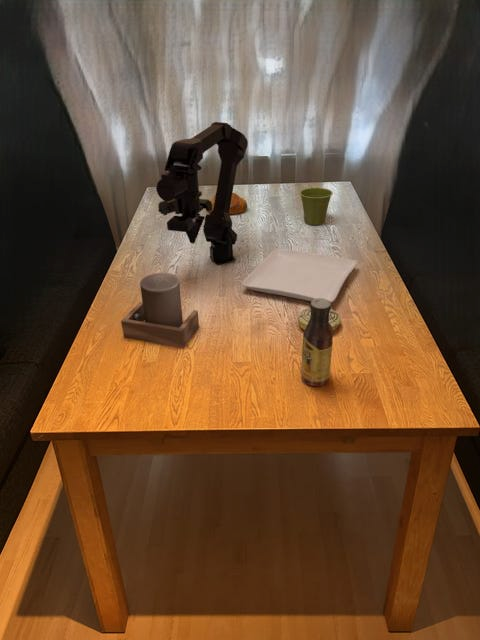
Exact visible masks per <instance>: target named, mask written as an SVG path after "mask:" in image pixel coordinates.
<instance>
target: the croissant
mask: <svg viewBox="0 0 480 640" xmlns="http://www.w3.org/2000/svg"><path fill="white" fill-rule="evenodd" d="M215 196H216V194H215V195H214V196H213V197H212V198H211V199H210V202H211V203H212V210H211V211H210V212H209V214H210V213H211V212H212V211H213V208H214V202H215ZM247 208H248V203H247V201H246V199H244V198H243V197H241V196H240V195H238V194H237V193H236V192H232V198H231V203H230V209H229V215H236V214H241V213H244V212H246V209H247Z"/></svg>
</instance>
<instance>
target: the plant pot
mask: <svg viewBox="0 0 480 640" xmlns="http://www.w3.org/2000/svg"><path fill="white" fill-rule="evenodd" d="M298 193H299V195H300V197H301V201H302V209H303V217H304V222H305V224H306V225H309V226H313V225H315V226H321V225H324V223H325V222H326V217H327V214H328V213H327V212H328V208H329V205H330V201H331V198H332V195H334V194H333V193H334V192H333V191H332V189H331V190H330V189H328V188H325V187H324V188H323V187H309V188H303V189H301V190H300V191H299V192H298Z"/></svg>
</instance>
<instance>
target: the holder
mask: <svg viewBox="0 0 480 640" xmlns="http://www.w3.org/2000/svg"><path fill="white" fill-rule="evenodd" d="M120 322H121V323H120V324H121V330H122V334H123V338H124V339H128V340H133V341H140V342H143V343H144V342H146V343H151V344H157V345H163V346H168V347H173V348H180V349H185V348H186V346H187V345H188V343H189V342H190V341H191V340H192V338H193V337H194V335H195V334H196V332H197V331H198V330H199V328H200V323H199V322H200V321H199V311H198V310H195V309H193V310H192V311H191V312H190V314H189V315H188V316H187V318H186V319H185V320H183V324H182V325H181V327H180V328H178V327H172V326H166V325H159V324H153V323H147V322H145V317H144V309H143V303H142V301H139V302H138V303H137V304H136V305H134V307H133V308H132V309H131V310H130V311H129V312H128V313H127V314H126V315H125V316H124V318H122V319H121V320H120Z"/></svg>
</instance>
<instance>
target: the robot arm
mask: <svg viewBox="0 0 480 640" xmlns="http://www.w3.org/2000/svg"><path fill="white" fill-rule="evenodd" d="M215 145H217V153H218V157H219V158H220V168H219V174H218V180H217V186H216V191H215V195H216V196H215V195H214V197H215V202H214V208H213V211H212V212H211V213H210V211H211V210H212V203H211V202H210V201H211V199H205V198H200V197H201V196H202V195H203V194H202V191H201V190H200V188H199V187H200V186H199V185H200V184H199V175H198V173H199V171H200V170H202V166H201V165H200V164H199V163H200V162H201V161H202V160H203V159H204V153H206V152H208V150H209V149H211V148H213V147H214V146H215ZM248 145H249V144H248V139H247V138H246V136H245V135H244V133H242V132H240V131H239V130H237V129H236V128H233V126H232V125H230V124H229V123H228V122H220V121H214V122H212V123H211V125H210V126H208V127H207V128H205V129H204V130H202V131H200V132H199V133H197V134H196V135H194V136H193V137H191V138H184V139H180V140H176V141H174V142H173V143H172V144H171V147H170V149H169V152H168V155H167V159H166V162H165V167H164V171H165V173H162V174H161V175H160V177H161V179H159V180H158V182H157V183H156V187H155V188H156V192H157V193H156V194H157V195H158V196H159V198H160V199H161V200H163V201H160V202H159V203H158V206H157V208H158V212H159V214H162V215H163V216H167V215H169V214H172V213H174V214H175V215H173V216H172V217H171V218H170V219H169V220H168V221H167V222H166V229H167V231H172V232H182V233H185V234H186V236H187V239H188V241H189V243H190V244H195V243H196V241H197V238H198V235H199V232H200V230H201V227H202V226H203V229H202V231H203V235H204V238H205V241H206V242H207V243H210V246H209V259H211V260H212V262H214V263H215V264H216V265H218V266H219V265H223V264H226V263H227V264H228V263H231V262H236V258H235V257H234V247H233V246H234V245H236V242H237V241H238V234H237V233H236V231H235V230H234V229H233V220H232V217H231V216H230V215H231V214H229V209H230V203H231V198H232V193H234V192H233V191H234V187H235V186H234V185H235V179H236V174H237V170H238V169H237V168H238V165H239V164H240V162H241V161H242V160H243V159H244V157H245V154H246V150H247V148H248ZM204 209H205V211H206V213H208V214H206V215H205V216H203V215H201V212H202V211H203V210H204ZM203 222H204V224H203Z"/></svg>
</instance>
